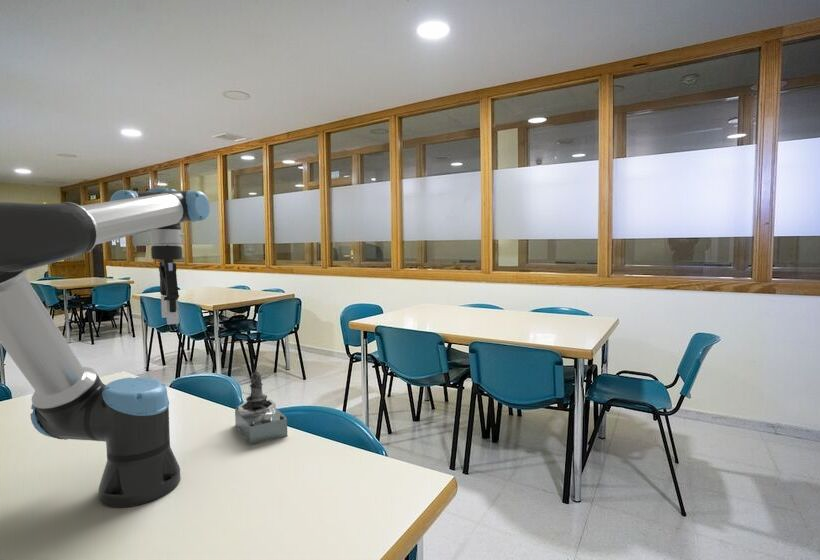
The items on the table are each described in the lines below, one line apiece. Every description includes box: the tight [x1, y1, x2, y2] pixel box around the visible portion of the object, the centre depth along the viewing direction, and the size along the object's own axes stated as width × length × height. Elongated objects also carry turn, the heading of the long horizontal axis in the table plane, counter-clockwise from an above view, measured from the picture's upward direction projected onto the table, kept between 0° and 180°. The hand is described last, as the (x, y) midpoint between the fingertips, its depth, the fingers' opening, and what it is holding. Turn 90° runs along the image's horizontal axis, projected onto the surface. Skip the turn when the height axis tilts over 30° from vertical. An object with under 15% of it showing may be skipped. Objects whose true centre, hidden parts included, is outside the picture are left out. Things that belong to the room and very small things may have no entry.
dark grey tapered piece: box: [245, 369, 268, 411], centre depth 126 cm, size 6×6×12 cm
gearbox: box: [234, 398, 288, 446], centre depth 124 cm, size 16×10×7 cm, turn 35°
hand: (170, 320), depth 123 cm, fingers open, 13 cm apart
